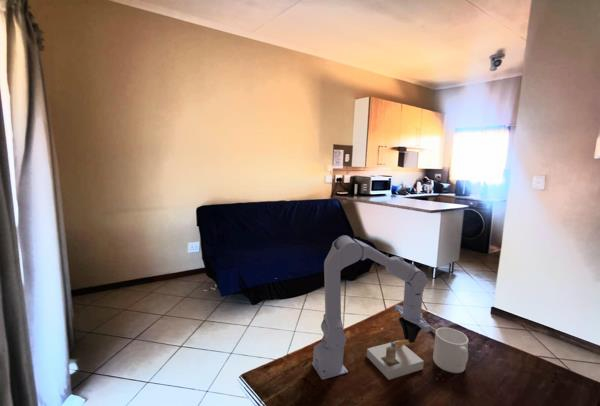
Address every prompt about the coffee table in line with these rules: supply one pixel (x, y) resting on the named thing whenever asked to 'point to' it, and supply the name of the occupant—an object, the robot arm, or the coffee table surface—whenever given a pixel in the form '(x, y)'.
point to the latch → (402, 342)
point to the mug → (450, 350)
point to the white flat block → (403, 360)
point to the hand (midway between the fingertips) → (409, 340)
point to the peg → (390, 356)
